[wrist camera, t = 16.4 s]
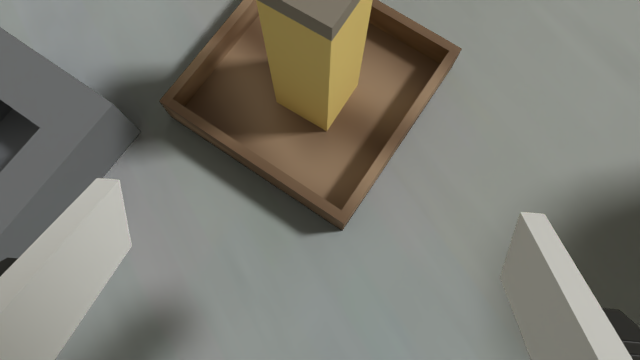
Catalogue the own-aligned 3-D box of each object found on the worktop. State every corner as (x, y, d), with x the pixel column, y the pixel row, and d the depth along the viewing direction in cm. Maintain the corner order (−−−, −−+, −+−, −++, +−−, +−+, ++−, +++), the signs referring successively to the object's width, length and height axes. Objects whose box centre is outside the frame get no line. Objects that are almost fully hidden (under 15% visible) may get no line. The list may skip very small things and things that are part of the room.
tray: (288, -28, 36) (286, -53, 33) (451, 67, 33) (461, 48, 31) (170, 116, 32) (159, 101, 30) (342, 230, 30) (344, 223, 28)
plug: (308, 56, 33) (302, -83, 21) (358, 84, 32) (381, -42, 21) (275, 102, 32) (251, -17, 20) (327, 132, 32) (332, 28, 20)
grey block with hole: (31, 56, 34) (-12, 19, 29) (140, 131, 32) (113, 103, 28) (-97, 193, 31) (-165, 174, 27) (16, 281, 30) (-36, 276, 25)
